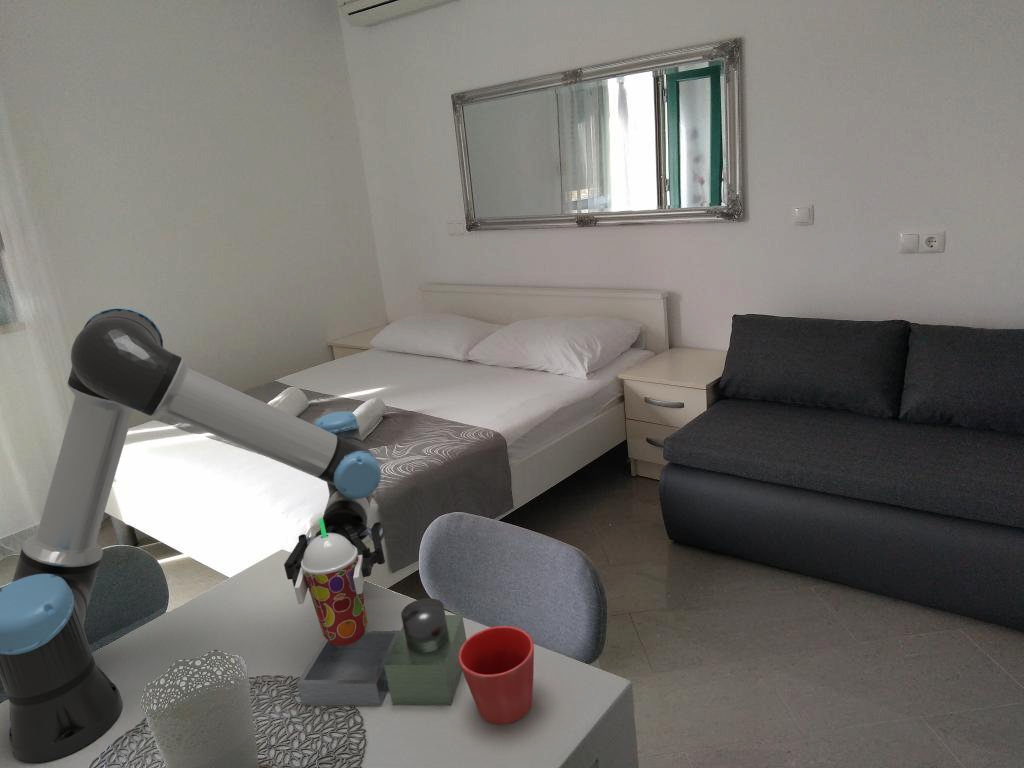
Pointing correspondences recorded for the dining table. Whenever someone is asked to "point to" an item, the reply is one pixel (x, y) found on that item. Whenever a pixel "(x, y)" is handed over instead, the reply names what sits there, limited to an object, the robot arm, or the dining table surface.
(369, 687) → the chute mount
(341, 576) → the smoothie
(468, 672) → the flower pot
